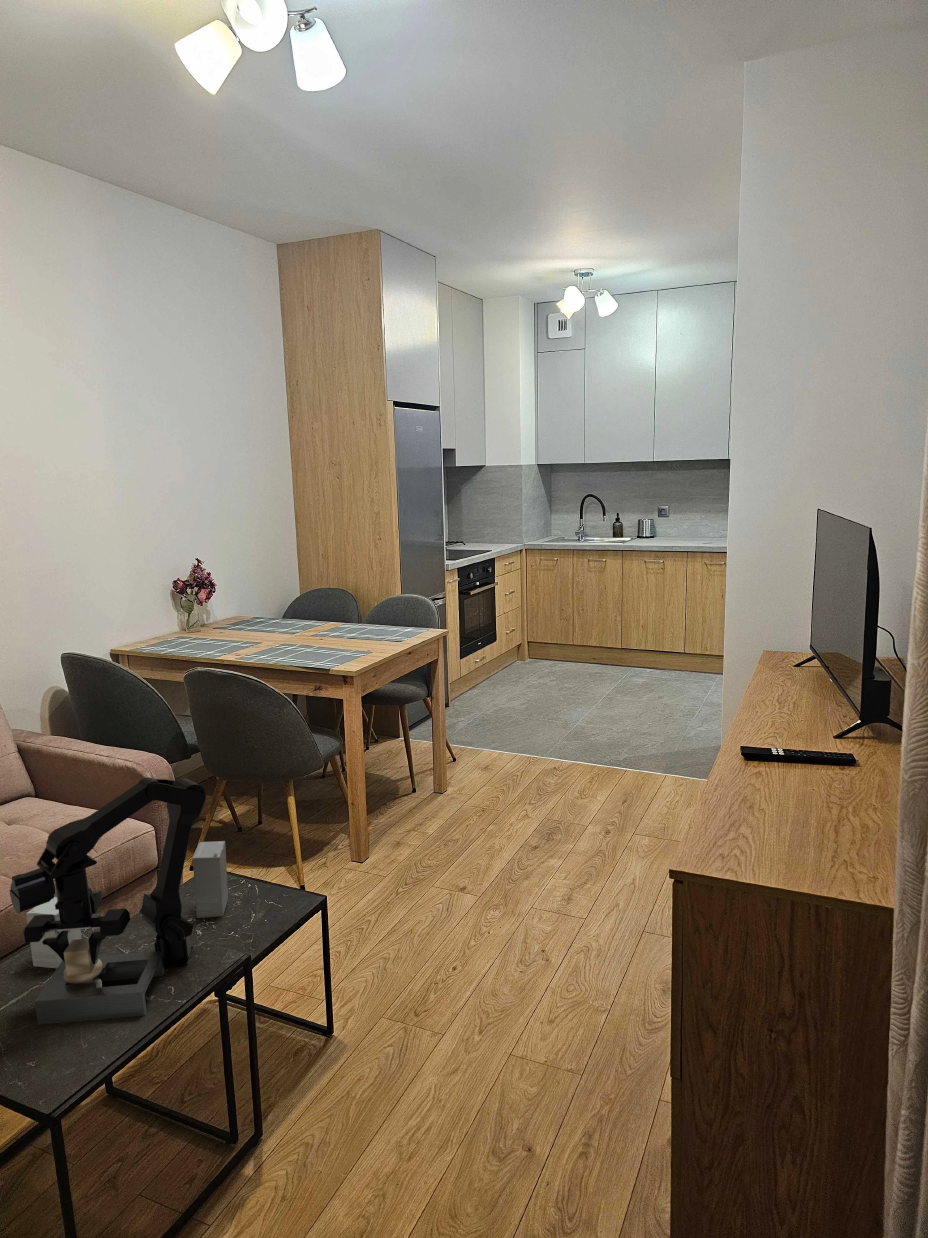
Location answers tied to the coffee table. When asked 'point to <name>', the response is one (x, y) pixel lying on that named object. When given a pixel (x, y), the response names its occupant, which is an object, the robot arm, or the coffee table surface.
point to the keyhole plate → (100, 991)
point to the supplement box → (40, 952)
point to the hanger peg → (81, 964)
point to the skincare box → (210, 879)
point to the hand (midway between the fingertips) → (82, 964)
